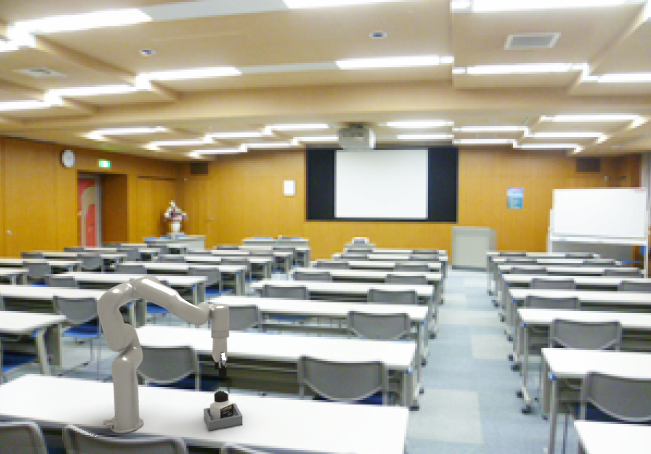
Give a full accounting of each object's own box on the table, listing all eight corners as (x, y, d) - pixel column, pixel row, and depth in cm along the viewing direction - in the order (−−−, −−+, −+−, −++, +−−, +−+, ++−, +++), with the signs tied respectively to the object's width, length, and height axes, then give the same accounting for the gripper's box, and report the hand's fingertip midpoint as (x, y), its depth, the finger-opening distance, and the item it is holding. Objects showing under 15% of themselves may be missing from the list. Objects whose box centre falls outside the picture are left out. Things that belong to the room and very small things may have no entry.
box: (208, 431, 196) (208, 422, 196) (203, 417, 209) (203, 408, 209) (242, 425, 201) (242, 415, 201) (235, 411, 214) (235, 403, 214)
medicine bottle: (220, 424, 200) (219, 396, 199) (210, 420, 205) (209, 392, 204) (233, 418, 206) (233, 391, 205) (223, 414, 210) (222, 387, 209)
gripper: (208, 329, 210) (208, 367, 210) (214, 339, 194) (215, 380, 195) (225, 327, 213) (225, 365, 213) (233, 337, 197) (233, 378, 197)
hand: (220, 372), depth 204 cm, fingers open, 9 cm apart
